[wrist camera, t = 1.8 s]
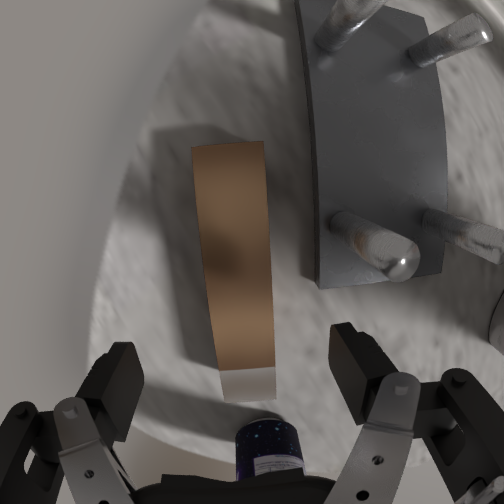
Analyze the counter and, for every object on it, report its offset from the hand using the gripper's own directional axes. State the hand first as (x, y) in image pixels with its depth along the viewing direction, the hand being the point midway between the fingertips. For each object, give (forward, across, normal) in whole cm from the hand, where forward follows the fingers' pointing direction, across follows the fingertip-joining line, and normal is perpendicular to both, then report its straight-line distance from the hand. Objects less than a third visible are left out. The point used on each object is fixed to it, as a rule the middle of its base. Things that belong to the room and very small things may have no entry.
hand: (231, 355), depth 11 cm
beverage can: (+8, -1, +16) cm, 18 cm away
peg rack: (+8, -11, -9) cm, 16 cm away
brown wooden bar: (+8, -1, 0) cm, 8 cm away
